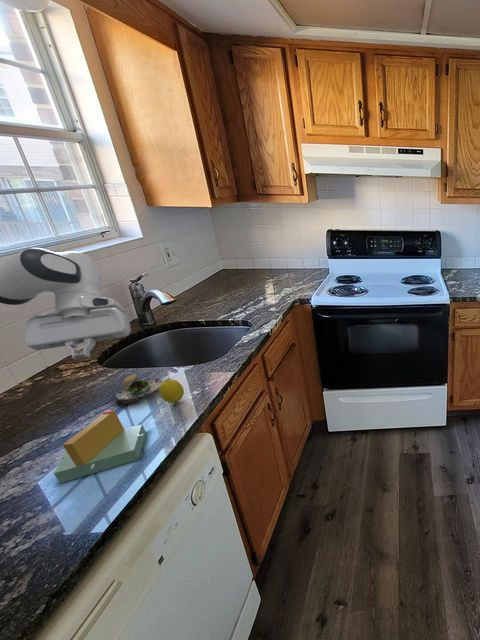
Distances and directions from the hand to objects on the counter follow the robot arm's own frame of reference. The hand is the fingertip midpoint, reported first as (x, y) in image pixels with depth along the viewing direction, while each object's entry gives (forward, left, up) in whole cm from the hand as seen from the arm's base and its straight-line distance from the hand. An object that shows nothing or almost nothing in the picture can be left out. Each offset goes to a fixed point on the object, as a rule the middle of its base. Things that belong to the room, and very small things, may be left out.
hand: (81, 357), depth 93 cm
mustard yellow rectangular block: (+2, -18, -16) cm, 25 cm away
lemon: (+15, 0, -19) cm, 24 cm away
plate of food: (+5, +12, -19) cm, 23 cm away
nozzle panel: (+2, -18, -19) cm, 27 cm away
